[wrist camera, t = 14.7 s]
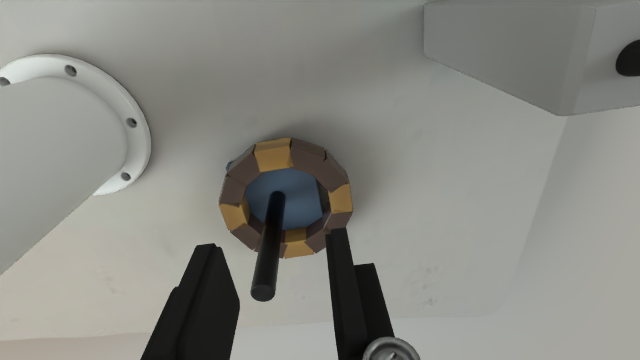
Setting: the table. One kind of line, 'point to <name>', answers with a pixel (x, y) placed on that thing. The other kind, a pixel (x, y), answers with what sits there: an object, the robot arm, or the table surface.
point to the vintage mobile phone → (543, 49)
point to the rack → (279, 218)
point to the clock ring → (281, 157)
